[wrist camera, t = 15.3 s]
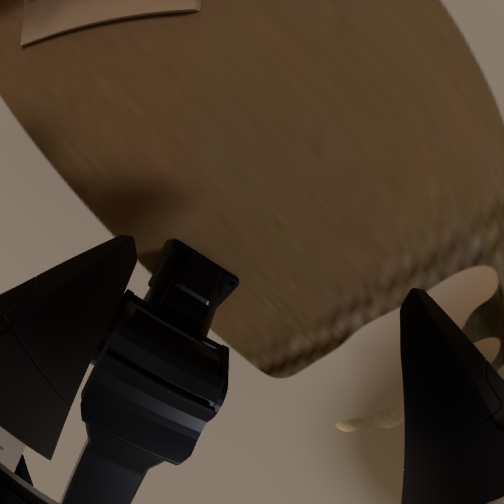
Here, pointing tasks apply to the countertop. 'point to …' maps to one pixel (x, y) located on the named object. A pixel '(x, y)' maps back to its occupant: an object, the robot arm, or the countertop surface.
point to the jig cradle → (89, 14)
